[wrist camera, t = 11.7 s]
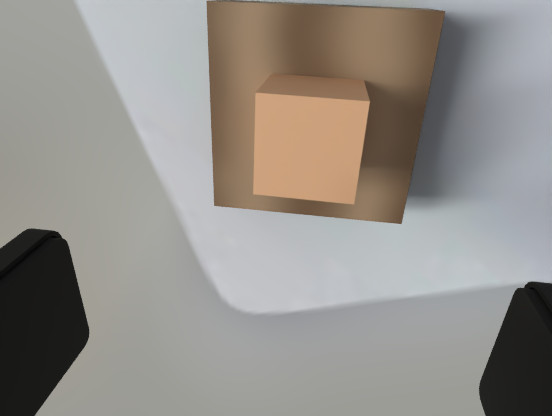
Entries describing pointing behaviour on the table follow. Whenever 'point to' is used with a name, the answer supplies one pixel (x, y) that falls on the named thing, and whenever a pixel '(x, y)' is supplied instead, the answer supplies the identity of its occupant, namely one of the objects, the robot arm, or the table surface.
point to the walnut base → (321, 63)
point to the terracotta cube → (309, 137)
